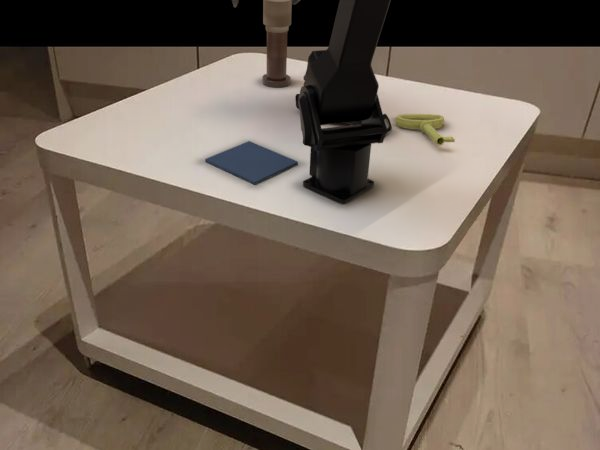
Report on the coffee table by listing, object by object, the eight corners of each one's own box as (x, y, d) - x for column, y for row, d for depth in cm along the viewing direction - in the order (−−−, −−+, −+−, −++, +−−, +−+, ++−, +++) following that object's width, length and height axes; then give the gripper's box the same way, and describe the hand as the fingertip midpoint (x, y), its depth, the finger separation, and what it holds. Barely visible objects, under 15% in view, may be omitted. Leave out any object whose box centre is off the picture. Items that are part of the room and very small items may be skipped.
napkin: (298, 164, 81) (298, 161, 80) (254, 184, 75) (254, 182, 75) (249, 143, 85) (249, 140, 85) (205, 161, 80) (205, 158, 80)
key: (437, 153, 85) (440, 139, 84) (389, 121, 94) (391, 108, 93) (479, 146, 87) (482, 132, 86) (428, 115, 97) (430, 102, 96)
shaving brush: (295, 83, 107) (298, -2, 100) (276, 89, 104) (278, 3, 97) (275, 76, 110) (276, -7, 102) (256, 82, 107) (256, -3, 99)
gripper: (333, -129, 85) (307, -37, 99) (198, -132, 79) (191, -35, 93) (358, -71, 81) (327, 16, 94) (217, -70, 75) (206, 22, 89)
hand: (264, 3), depth 93 cm, fingers open, 9 cm apart
